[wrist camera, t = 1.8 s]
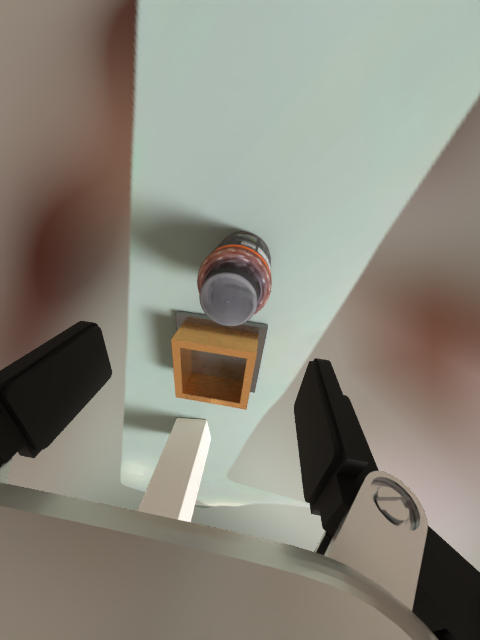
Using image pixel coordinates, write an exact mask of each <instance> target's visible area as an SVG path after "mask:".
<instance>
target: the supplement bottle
mask: <svg viewBox="0 0 480 640" xmlns="http://www.w3.org/2000/svg"><path fill="white" fill-rule="evenodd" d="M197 284H198V291H199V294H200V304H201V307H202V309H203V311H204V312H205V314H206V315H207V316H208V317H209V318H210V319H211V320H213V321H214V322H216V323H218V324H221V325H225V326H236V325H240V324H243V323H245V322H246V321H248V320H249V319H250V318H251V317H252V316H253V315H254V314H256V313H257V312H258V311H260V310H261V308H263V306H264V305H265V304H266V302H267V300H268V298H269V295H270V292H271V257H270V253H269V249H268V247H267V245H266V244H265V242H264V241H263V240H262V239H261V238H260V237H258V236H257V235H255V234H252V233H249V232H238V233H235V234H232V235H230V236H229V237H227V238H226V239H225V240H224V241H223V242H222V243H221V244H220V245H219V246H218V247H217V248H216V249H215V250H214V251H213V252H212V253H211V254H210V255H209V256H208V257H207V258H206V259H205V260H204V262H203V263H202V265H201V267H200V270H199V273H198V279H197Z"/></svg>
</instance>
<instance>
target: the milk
mask: <svg viewBox="0 0 480 640" xmlns="http://www.w3.org/2000/svg"><path fill="white" fill-rule="evenodd" d="M210 441H211V436H210V431H209V427H208V423H207V420H203V419H188V418H177V419H176V421H175V424H174V426H173V429H172V431H171V433H170V436H169V438H168V440H167V443H166V445H165V447H164V450H163V452H162V454H161V457H160V459H159V461H158V464H157V466H156V469H155V471H154V473H153V476H152V478H151V480H150V483H149V485H148V487H147V490H146V492H145V495H144V497H143V499H142V502H141V504H140V506H139V509H138V511H140V512H145V513H149V514H154V515H159V516H163V517H168V518H173V519H177V520H182V521H187V522H191V518H192V514H193V510H194V506H195V502H196V498H197V494H198V490H199V486H200V482H201V478H202V474H203V470H204V465H205V461H206V457H207V453H208V449H209V445H210Z"/></svg>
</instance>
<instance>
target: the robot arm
mask: <svg viewBox="0 0 480 640" xmlns="http://www.w3.org/2000/svg"><path fill="white" fill-rule="evenodd" d="M111 375H112V369H111V365H110V362H109V358H108V354H107V350H106V346H105V342H104V339H103V335H102V331H101V329H100V327H98V325H97V324H96V323H92V322H85V321H80V322H78V323H76V324H75V325H73V326H71V327H70V328H68V329H67V330H65V331H63V332H62V333H60V334H59V335H57V336H55V337H54V338H52V339H50V340H49V341H47V342H46V343H44V344H42V345H41V346H39V347H38V348H36V349H34V350H33V351H31V352H30V353H28V354H26V355H25V356H23V357H22V358H20V359H19V360H17V361H15V362H14V363H12V364H11V365H9V366H7V367H5V368H4V369H2V370H1V371H0V640H480V572H479V571H477V570H476V569H475V568H474V567H473V566H472V565H471V564H470V563H469V562H468V561H466V560H465V559H464V558H463V557H462V556H461V555H460V554H459V553H458V552H456V551H455V550H454V549H453V548H452V547H451V546H450V545H449V544H448V543H447V542H446V541H444V540H443V539H442V538H441V537H440V536H439V535H438V534H437V533H436V532H435V531H433V530H432V529H431V528H430V527H429V526H428V524H427V517H426V514H425V511H424V509H423V507H422V505H421V503H420V502H419V500H418V498H417V497H416V496H415V494H414V493H413V492H412V491H411V490H410V488H408V487H407V486H406V485H405V484H404V483H403V482H402V481H401V480H399V479H398V478H396V477H394V476H393V475H391V474H388V473H386V472H384V471H379V470H378V468H377V466H376V463H375V461H374V458H373V456H372V453H371V451H370V449H369V446H368V443H367V441H366V438H365V436H364V434H363V431H362V429H361V426H360V424H359V421H358V419H357V416H356V414H355V411H354V409H353V407H352V404H351V402H350V400H349V398H348V397H347V396H345V395H343V393H342V391H341V388H340V386H339V383H338V380H337V378H336V375H335V373H334V370H333V367H332V365H331V362H330V361H329V360H322V359H314V361H310V362H309V364H308V366H307V369H306V372H305V375H304V378H303V381H302V384H301V387H300V390H299V392H298V395H297V398H296V401H295V405H294V414H295V423H296V432H297V440H298V448H299V457H300V466H301V474H302V483H303V492H304V498H305V501H306V502H308V503H310V509H311V514H315V515H320V516H321V521H322V526H323V529H324V530H325V532H324V534H323V536H322V538H321V539H320V541H319V543H318V545H317V547H316V549H315V551H314V552H312V551H309V550H305V549H302V548H299V547H295V546H292V545H288V544H284V543H279V542H275V541H271V540H267V539H263V538H258V537H254V536H250V535H246V534H242V533H237V532H233V531H228V530H223V529H219V528H214V527H210V526H205V525H201V524H196V523H191V522H187V521H182V520H177V519H173V518H168V517H163V516H159V515H154V514H149V513H145V512H140V511H135V510H130V509H126V508H121V507H116V506H111V505H106V504H102V503H96V502H92V501H87V500H82V499H78V498H73V497H68V496H63V495H58V494H54V493H49V492H44V491H39V490H34V489H29V488H24V487H19V486H14V485H10V484H6V483H7V479H8V474H9V469H10V465H11V461H12V457H13V456H14V455H15V454H16V452H18V453H19V454H20V455H21V456H26V457H31V458H35V457H36V456H37V455H38V453H39V452H40V451H41V450H42V449H45V448H46V447H48V446H49V445H50V444H51V443H52V442H53V440H54V439H55V438H56V437H57V436H58V435H59V434H60V433H61V432H62V431H63V430H64V428H65V427H66V426H67V425H68V424H69V423H70V422H71V421H72V420H73V419H74V418H75V416H76V415H77V414H78V413H79V412H80V411H81V410H82V409H83V408H84V407H85V405H86V404H87V403H88V402H89V401H90V400H91V399H92V398H93V397H94V395H95V394H96V393H97V392H98V391H99V390H100V389H101V388H102V387H103V386H104V385H105V383H106V382H107V381H108V380H109V379H110V377H111Z"/></svg>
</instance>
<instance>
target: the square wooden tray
mask: <svg viewBox="0 0 480 640" xmlns="http://www.w3.org/2000/svg"><path fill="white" fill-rule="evenodd" d="M176 327H177V332H176V333H175V335H174V336H173V338H172V339H171V343H172V355H173V368H174V381H175V393H176V397H178V398H184V399H190V400H195V401H201V402H207V403H212V404H218V405H223V406H229V407H235V408H240V409H247V403H248V398H249V393H250V392H254V393H255V388H256V383H257V378H258V373H259V368H260V363H261V358H262V353H263V348H264V343H265V339H266V334H267V329H268V324H261V323H255V322H248V321H246V322H245V323H243V324H240V325H236V326H225V325H221V324H218V323H216V322H214V321H213V320H211V319H210V318H209V317H208V316H207V315H203V314H196V313H190V312H183V311H178V312H177V313H176Z"/></svg>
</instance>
